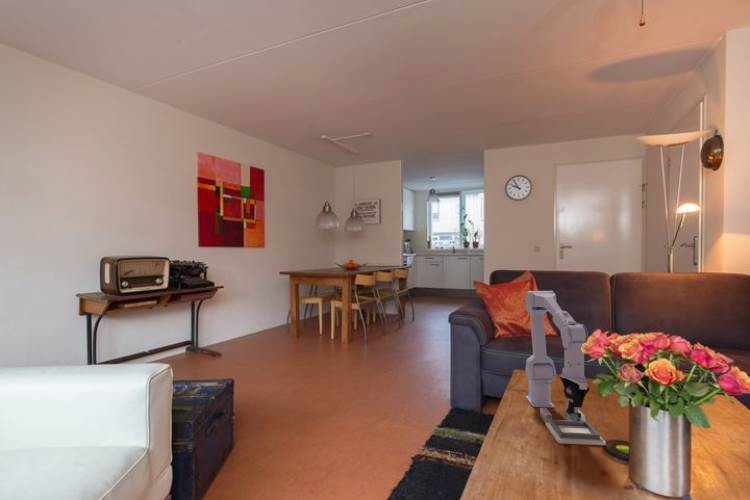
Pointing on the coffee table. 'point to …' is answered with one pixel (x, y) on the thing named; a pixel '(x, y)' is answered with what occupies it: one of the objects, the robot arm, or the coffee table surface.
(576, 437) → the port dock
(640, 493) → the coffee table surface
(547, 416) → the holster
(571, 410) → the push button
